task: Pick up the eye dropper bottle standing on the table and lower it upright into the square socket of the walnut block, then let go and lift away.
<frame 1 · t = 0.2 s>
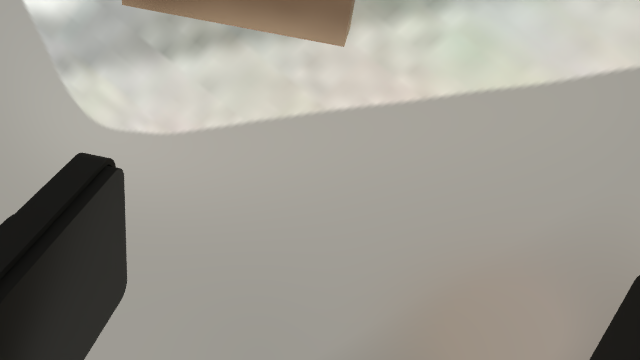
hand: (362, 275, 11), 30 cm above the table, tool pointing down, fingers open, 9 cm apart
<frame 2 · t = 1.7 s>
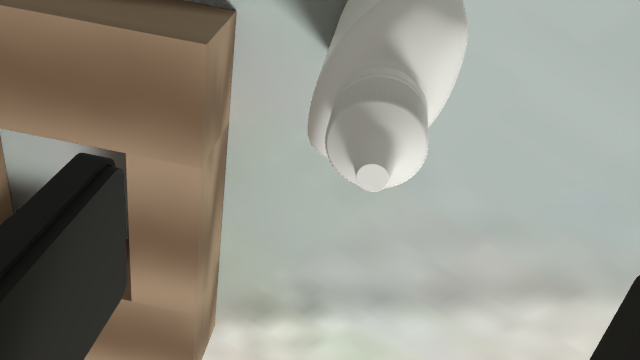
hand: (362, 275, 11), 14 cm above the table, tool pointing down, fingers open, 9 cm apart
socket block: (82, 167, 28), on the table
eye dropper bottle: (391, 12, 23), on the table
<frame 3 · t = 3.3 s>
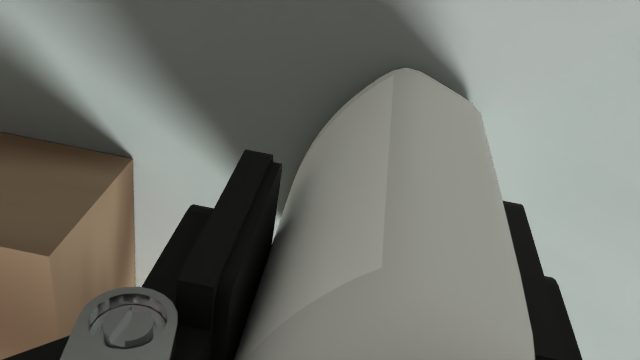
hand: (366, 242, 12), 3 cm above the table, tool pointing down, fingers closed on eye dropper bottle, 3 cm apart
eye dropper bottle: (376, 168, 14), on the table, touching gripper
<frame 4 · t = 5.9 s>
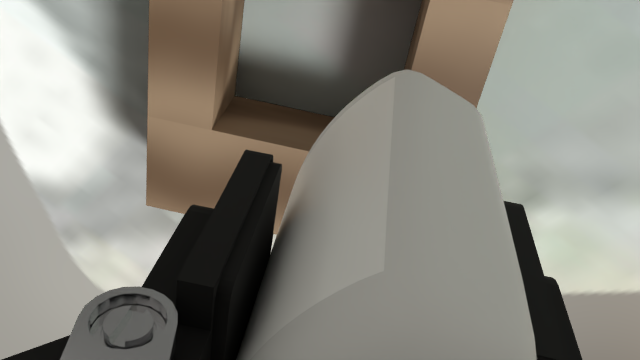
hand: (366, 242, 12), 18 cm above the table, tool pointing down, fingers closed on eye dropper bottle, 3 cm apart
socket block: (324, 36, 28), on the table
eye dropper bottle: (377, 169, 14), point 15 cm above the table, touching gripper
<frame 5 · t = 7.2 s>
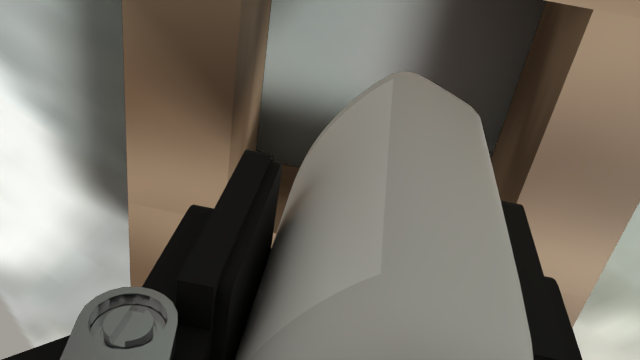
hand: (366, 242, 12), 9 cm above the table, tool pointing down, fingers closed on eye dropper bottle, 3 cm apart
socket block: (387, 76, 19), on the table
eye dropper bottle: (376, 171, 14), point 6 cm above the table, touching gripper
when the fingers open (4 cm above the table, at t = 8.5 s): eye dropper bottle stays where it is, resting in socket block.
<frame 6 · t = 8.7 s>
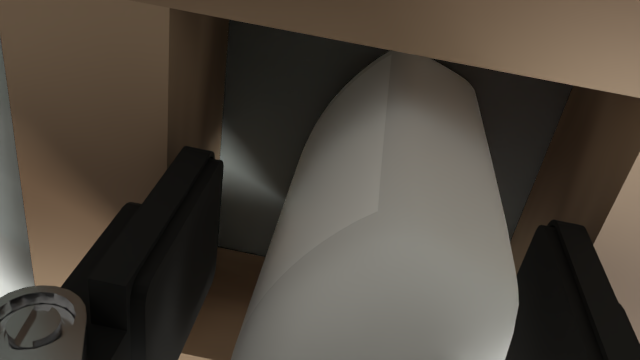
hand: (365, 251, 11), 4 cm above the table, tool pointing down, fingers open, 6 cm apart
socket block: (376, 154, 15), on the table
eye dropper bottle: (378, 146, 15), resting in socket block
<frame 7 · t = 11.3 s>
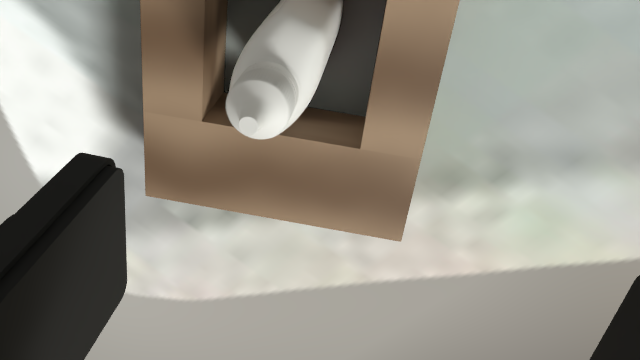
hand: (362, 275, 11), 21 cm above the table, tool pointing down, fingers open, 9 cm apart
socket block: (301, 33, 30), on the table
eye dropper bottle: (303, 30, 31), resting in socket block
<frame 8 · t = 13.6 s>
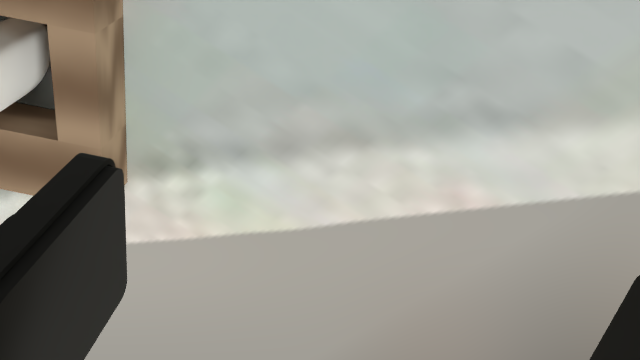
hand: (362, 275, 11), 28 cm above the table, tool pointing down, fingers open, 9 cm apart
socket block: (27, 53, 41), on the table
eye dropper bottle: (29, 51, 41), resting in socket block
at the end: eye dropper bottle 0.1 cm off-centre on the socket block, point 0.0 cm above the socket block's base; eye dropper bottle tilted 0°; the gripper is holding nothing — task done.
